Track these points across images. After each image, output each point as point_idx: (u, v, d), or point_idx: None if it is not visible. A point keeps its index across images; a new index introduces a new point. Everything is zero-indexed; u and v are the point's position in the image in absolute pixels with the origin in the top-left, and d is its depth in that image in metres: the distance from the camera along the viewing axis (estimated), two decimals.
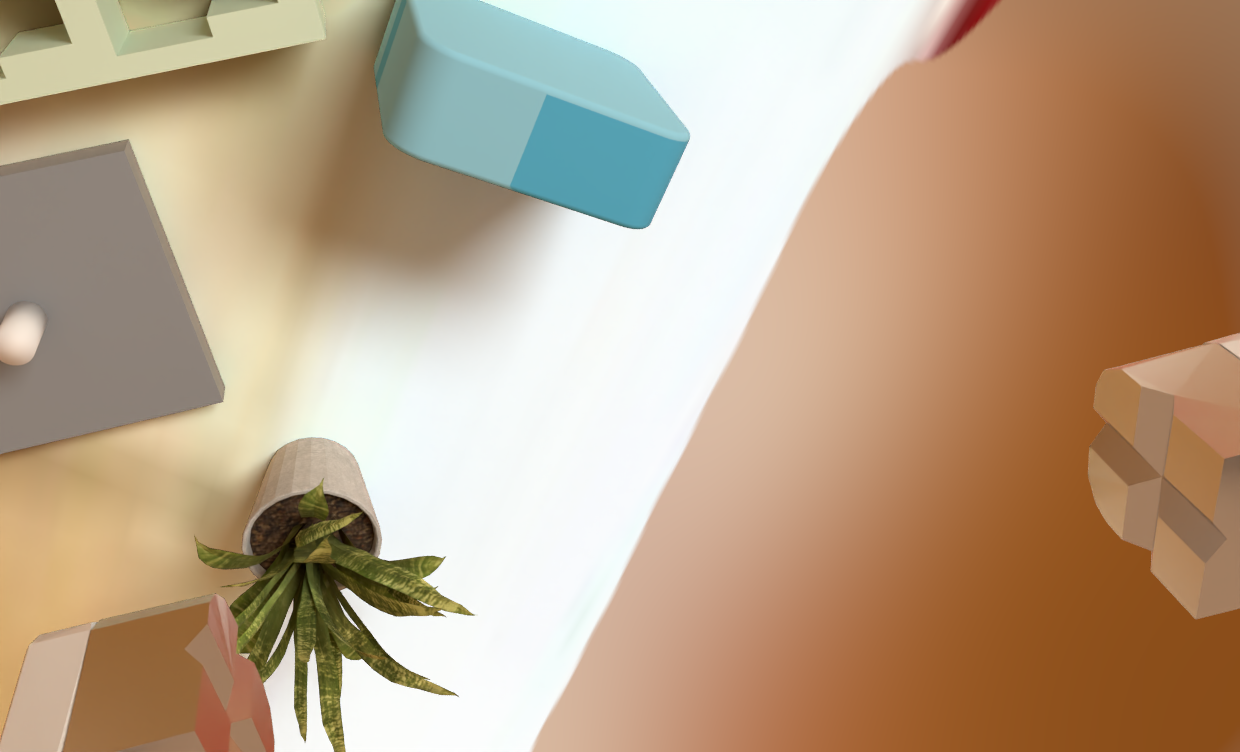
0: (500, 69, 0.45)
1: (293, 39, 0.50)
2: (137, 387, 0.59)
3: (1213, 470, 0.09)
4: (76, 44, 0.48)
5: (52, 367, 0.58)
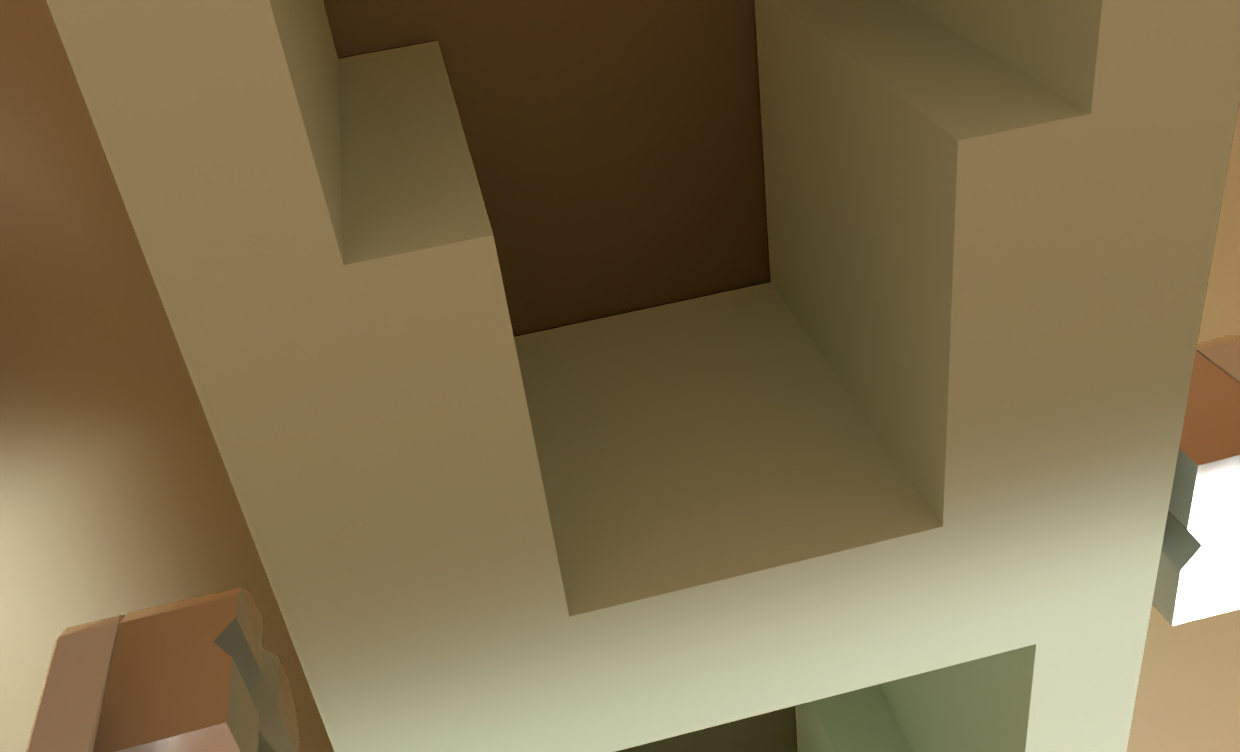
0: None
1: None
2: None
3: (1187, 477, 0.09)
4: (563, 634, 0.08)
5: None
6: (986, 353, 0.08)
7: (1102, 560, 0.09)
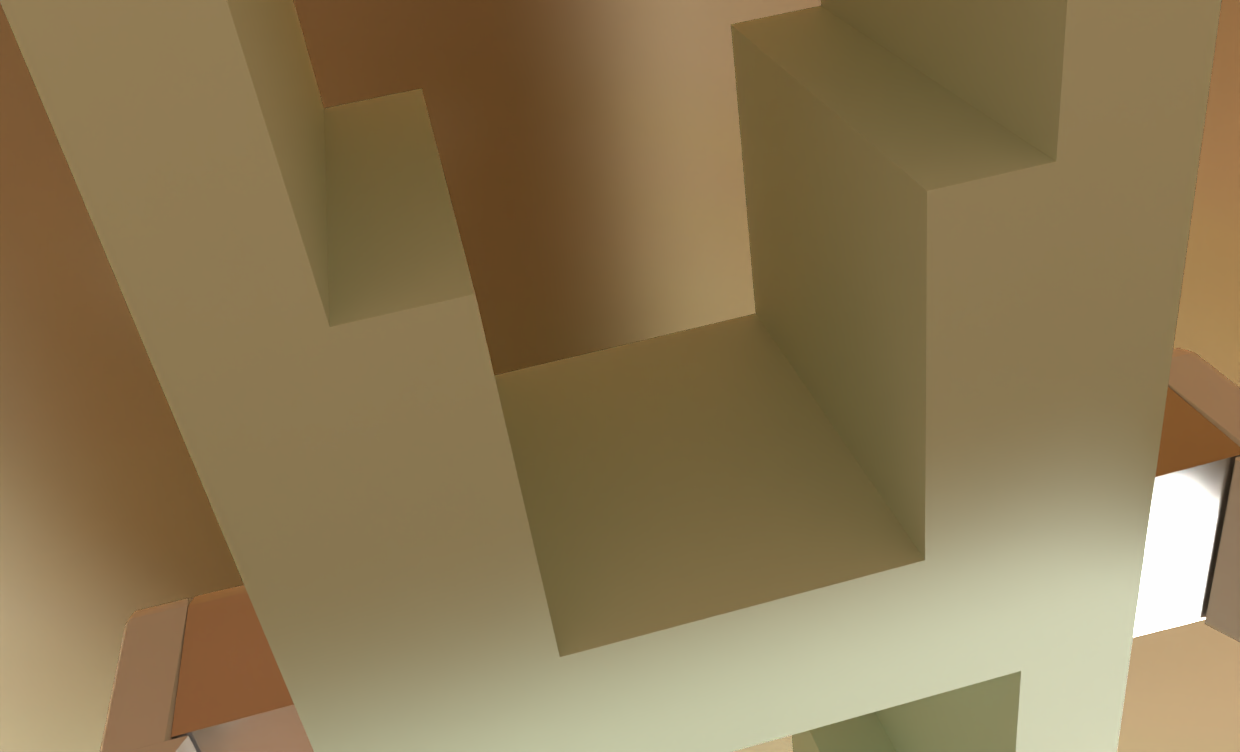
0: None
1: None
2: None
3: None
4: (554, 674, 0.08)
5: None
6: (961, 392, 0.08)
7: (1083, 588, 0.09)
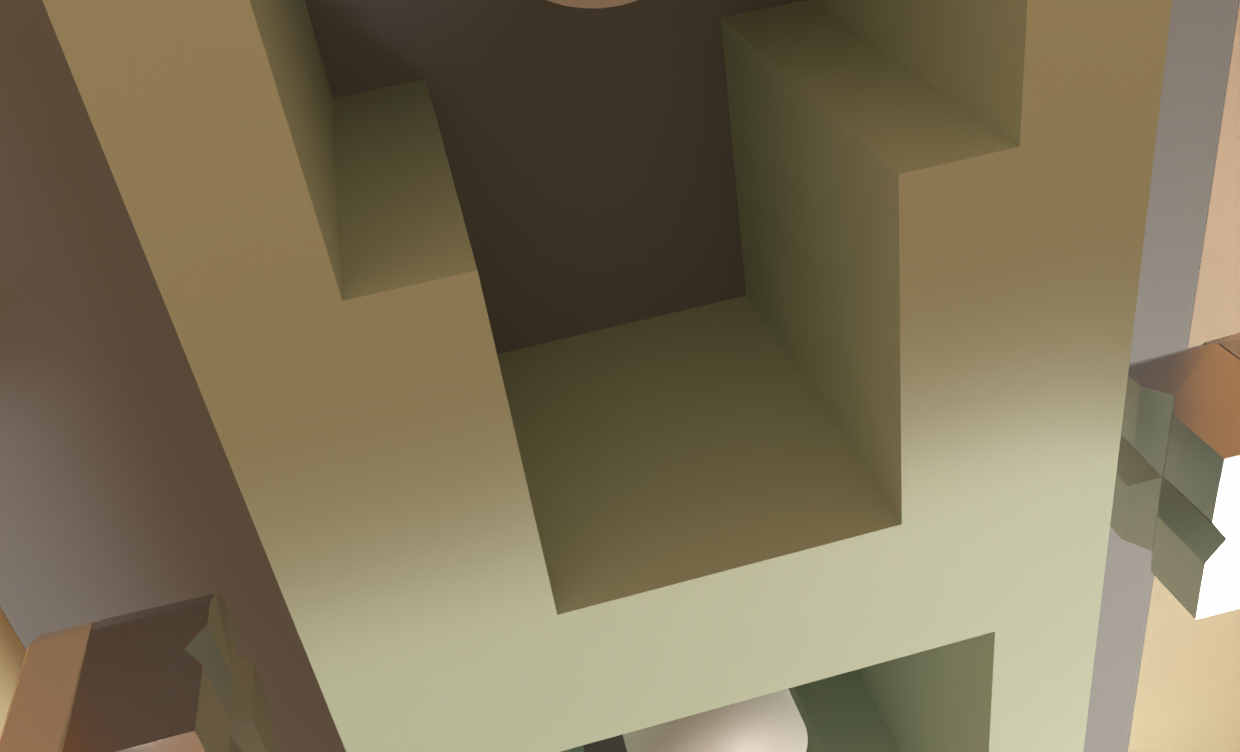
0: None
1: None
2: None
3: (1213, 470, 0.09)
4: (552, 630, 0.09)
5: None
6: (934, 364, 0.09)
7: (1053, 552, 0.10)
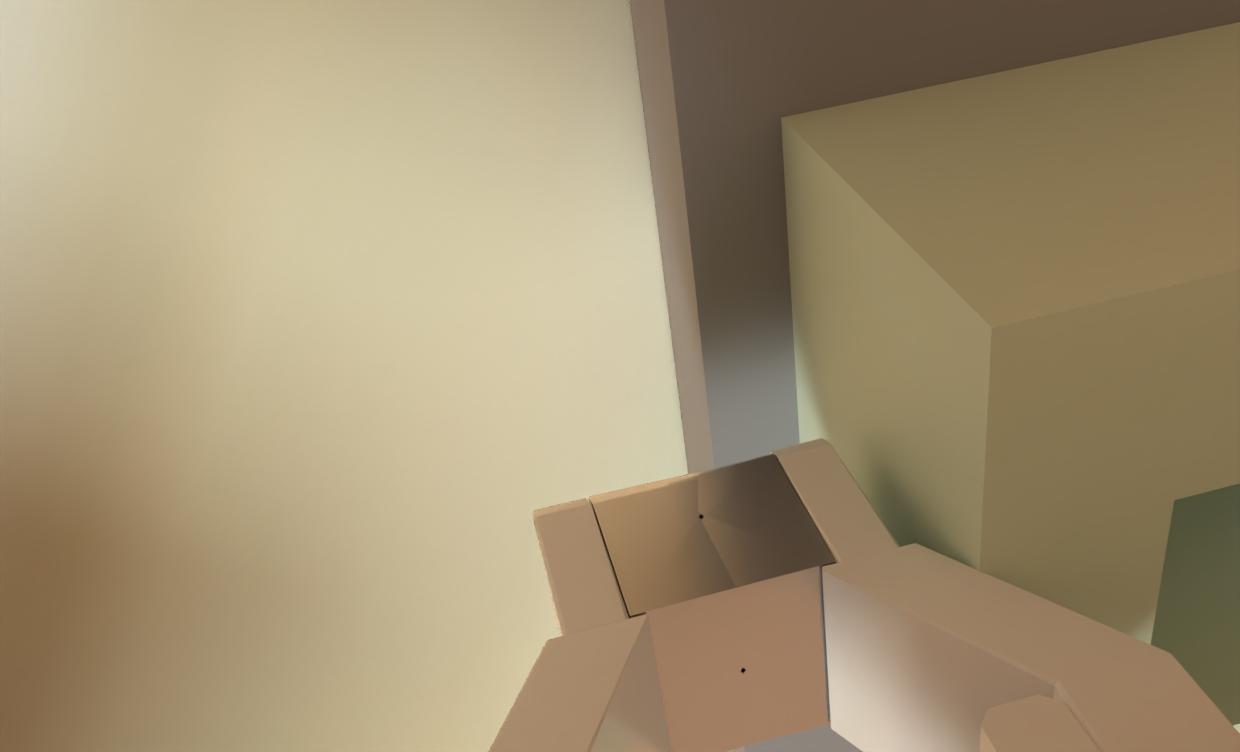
0: None
1: (1180, 316, 0.08)
2: None
3: (716, 602, 0.09)
4: None
5: None
6: None
7: None
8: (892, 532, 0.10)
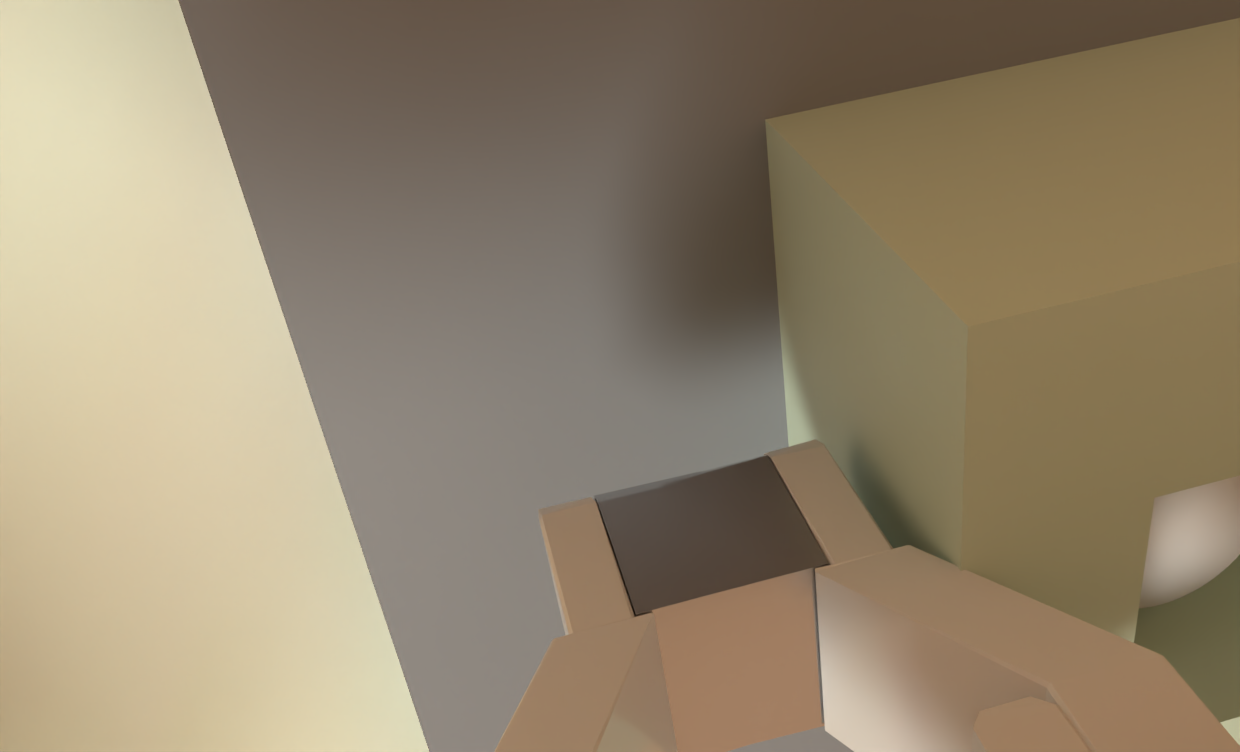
0: None
1: (1156, 314, 0.08)
2: None
3: None
4: None
5: None
6: None
7: None
8: None
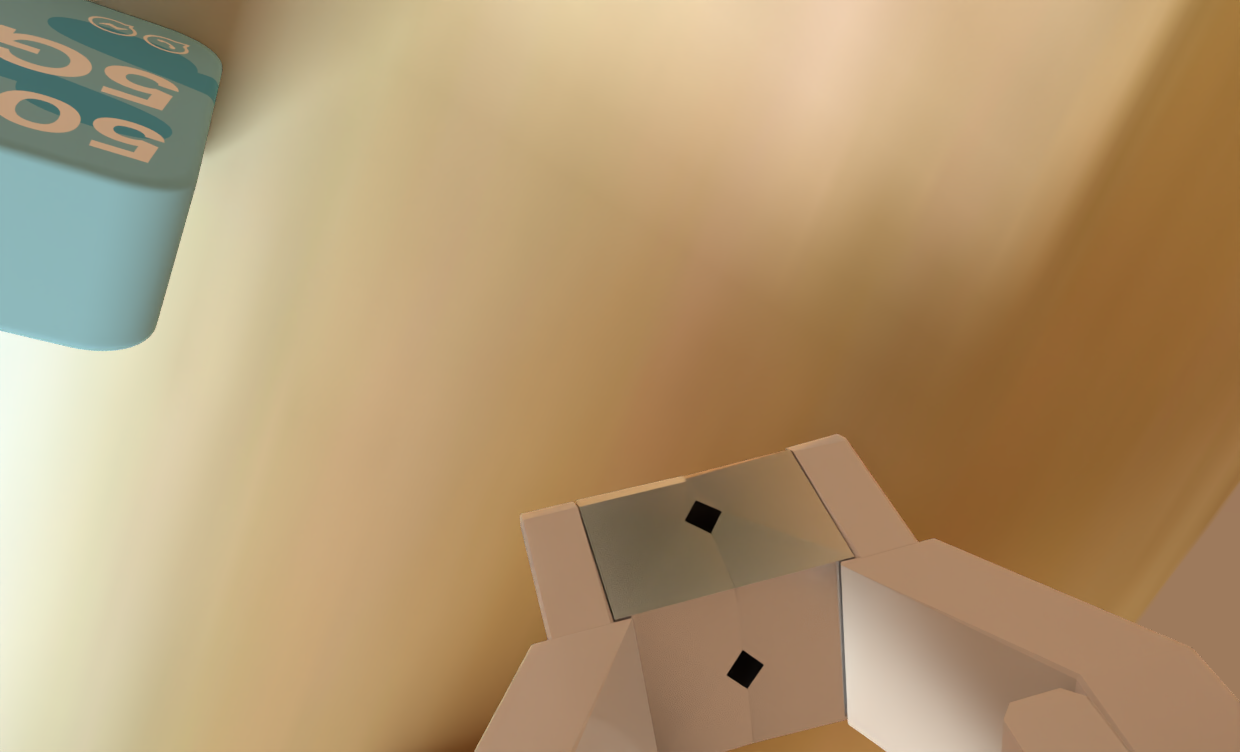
0: None
1: None
2: None
3: (734, 597, 0.09)
4: None
5: None
6: None
7: None
8: None
